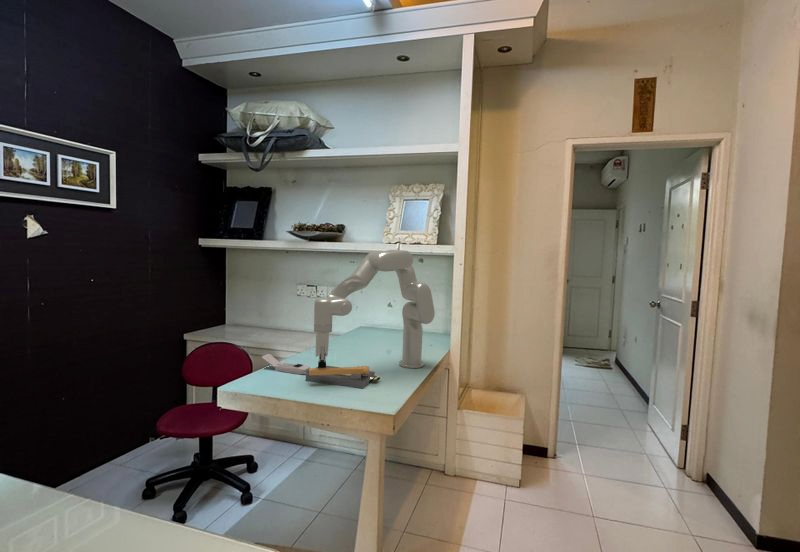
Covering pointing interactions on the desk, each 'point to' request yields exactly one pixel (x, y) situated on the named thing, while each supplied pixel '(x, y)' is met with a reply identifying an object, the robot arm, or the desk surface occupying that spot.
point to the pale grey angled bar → (286, 366)
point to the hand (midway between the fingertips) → (321, 370)
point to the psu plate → (342, 379)
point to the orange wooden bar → (339, 370)
